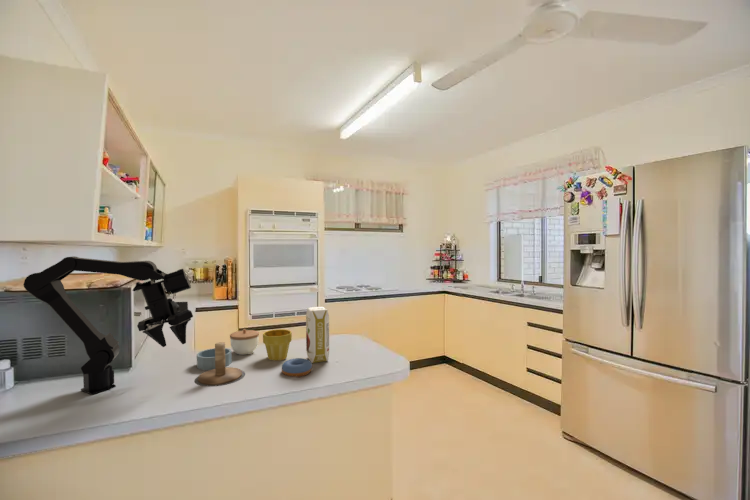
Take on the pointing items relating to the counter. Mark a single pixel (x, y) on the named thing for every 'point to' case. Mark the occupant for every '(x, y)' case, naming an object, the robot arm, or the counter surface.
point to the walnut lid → (219, 369)
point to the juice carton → (317, 334)
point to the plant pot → (277, 343)
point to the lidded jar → (244, 341)
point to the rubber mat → (219, 384)
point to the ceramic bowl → (211, 359)
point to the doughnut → (296, 367)
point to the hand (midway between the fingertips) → (174, 345)
